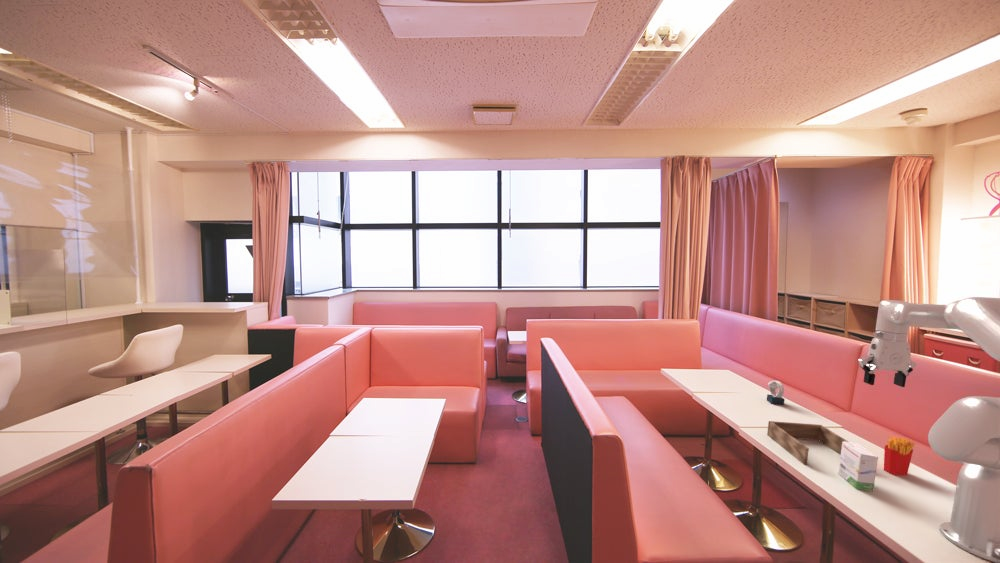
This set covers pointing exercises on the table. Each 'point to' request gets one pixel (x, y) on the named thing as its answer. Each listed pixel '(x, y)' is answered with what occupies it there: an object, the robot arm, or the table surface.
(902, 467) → the french fries
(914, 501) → the table surface
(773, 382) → the watch
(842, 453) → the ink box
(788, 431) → the brown wooden angled piece
